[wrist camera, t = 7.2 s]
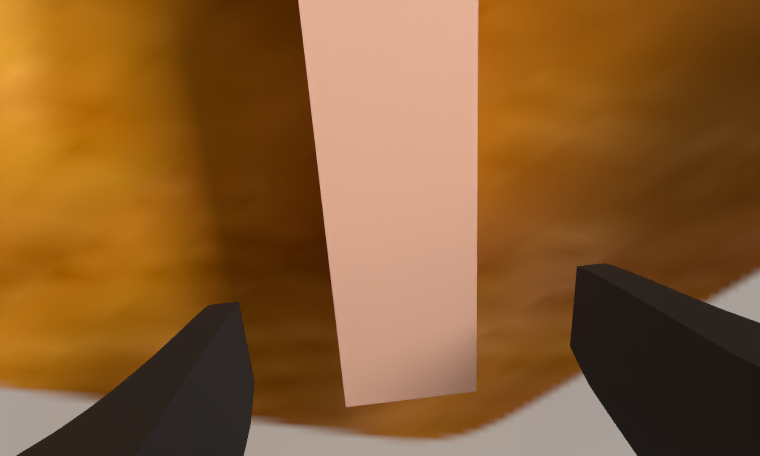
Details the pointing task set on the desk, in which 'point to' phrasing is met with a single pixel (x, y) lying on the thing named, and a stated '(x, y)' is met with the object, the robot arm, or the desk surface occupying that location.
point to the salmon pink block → (398, 189)
